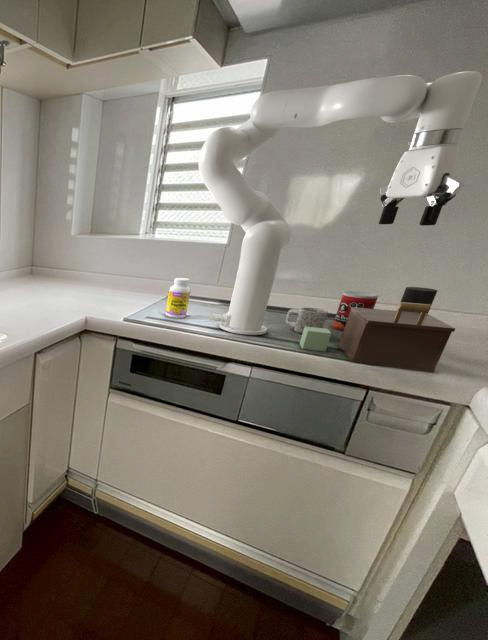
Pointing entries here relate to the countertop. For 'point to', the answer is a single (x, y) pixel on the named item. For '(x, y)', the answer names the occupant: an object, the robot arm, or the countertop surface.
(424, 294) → the black topped stool
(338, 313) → the canned food
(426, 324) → the lid
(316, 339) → the block
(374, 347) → the chest
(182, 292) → the supplement bottle
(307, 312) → the mug
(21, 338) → the countertop surface
